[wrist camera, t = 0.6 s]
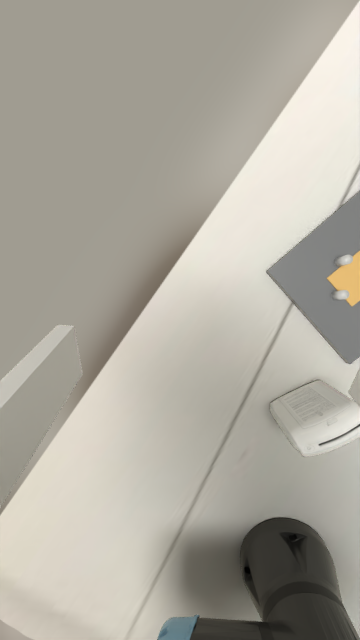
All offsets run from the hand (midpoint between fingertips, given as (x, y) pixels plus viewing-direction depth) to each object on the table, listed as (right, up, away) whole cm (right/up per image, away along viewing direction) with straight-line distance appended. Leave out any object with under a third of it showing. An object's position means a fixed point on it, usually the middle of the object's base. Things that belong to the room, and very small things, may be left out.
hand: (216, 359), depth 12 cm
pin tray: (+28, +10, +29) cm, 42 cm away
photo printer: (+18, -12, +31) cm, 38 cm away
